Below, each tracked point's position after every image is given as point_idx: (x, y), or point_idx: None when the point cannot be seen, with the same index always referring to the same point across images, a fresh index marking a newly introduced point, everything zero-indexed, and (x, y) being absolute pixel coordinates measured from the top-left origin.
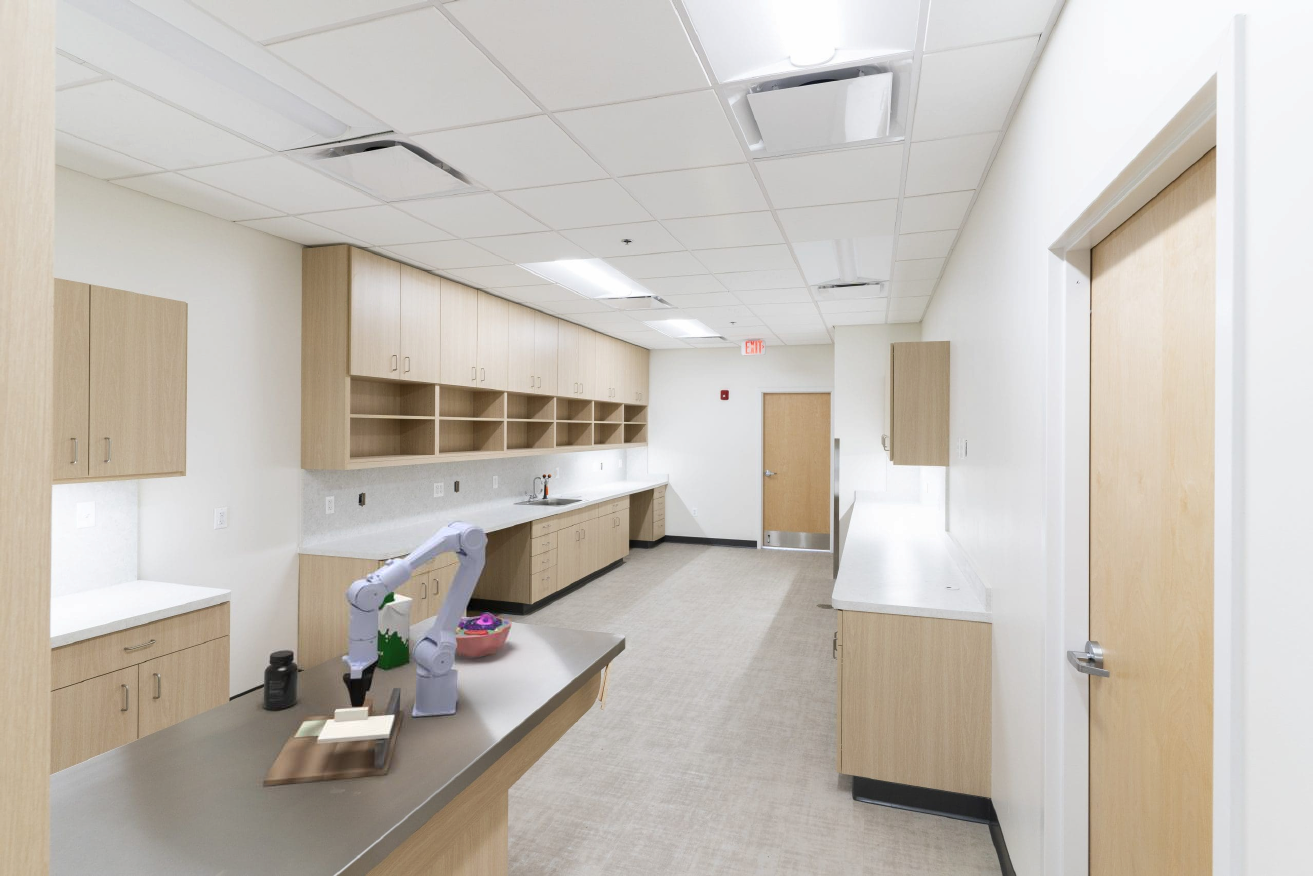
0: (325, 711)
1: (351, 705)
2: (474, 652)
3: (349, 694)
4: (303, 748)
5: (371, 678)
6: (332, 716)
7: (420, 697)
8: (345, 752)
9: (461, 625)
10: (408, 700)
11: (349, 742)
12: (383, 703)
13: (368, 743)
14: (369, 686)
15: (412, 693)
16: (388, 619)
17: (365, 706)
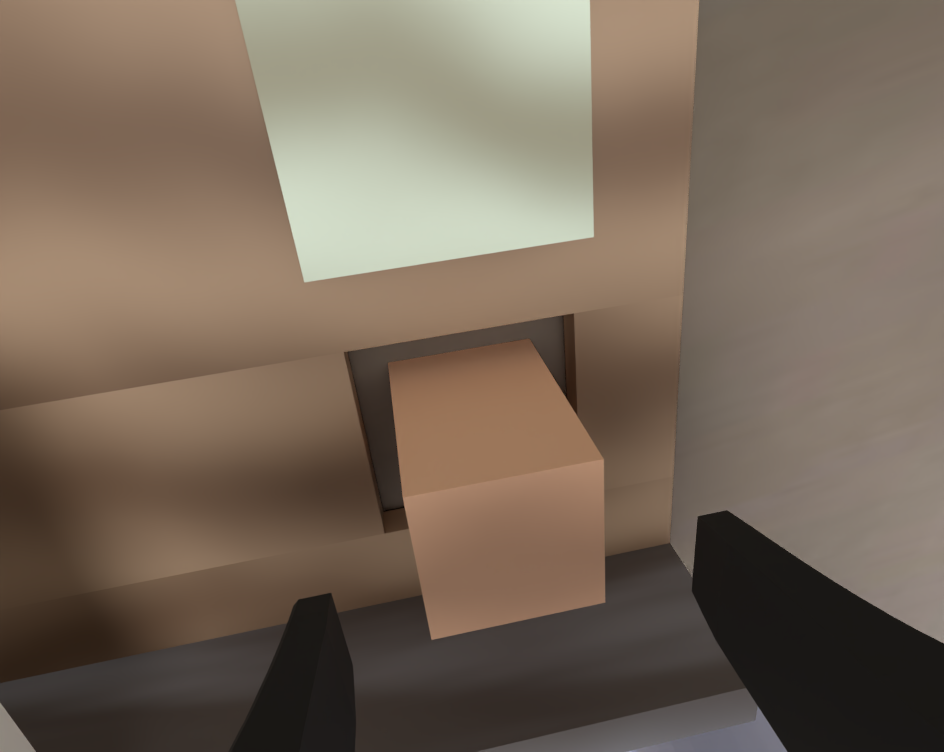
0: (859, 5)
1: (462, 496)
2: None
3: (231, 749)
4: (18, 118)
5: (778, 728)
6: (667, 152)
7: (682, 745)
8: (37, 485)
9: None
10: (844, 535)
11: (200, 454)
12: (853, 414)
13: (200, 570)
14: (719, 635)
15: (935, 525)
16: None
17: (436, 610)
